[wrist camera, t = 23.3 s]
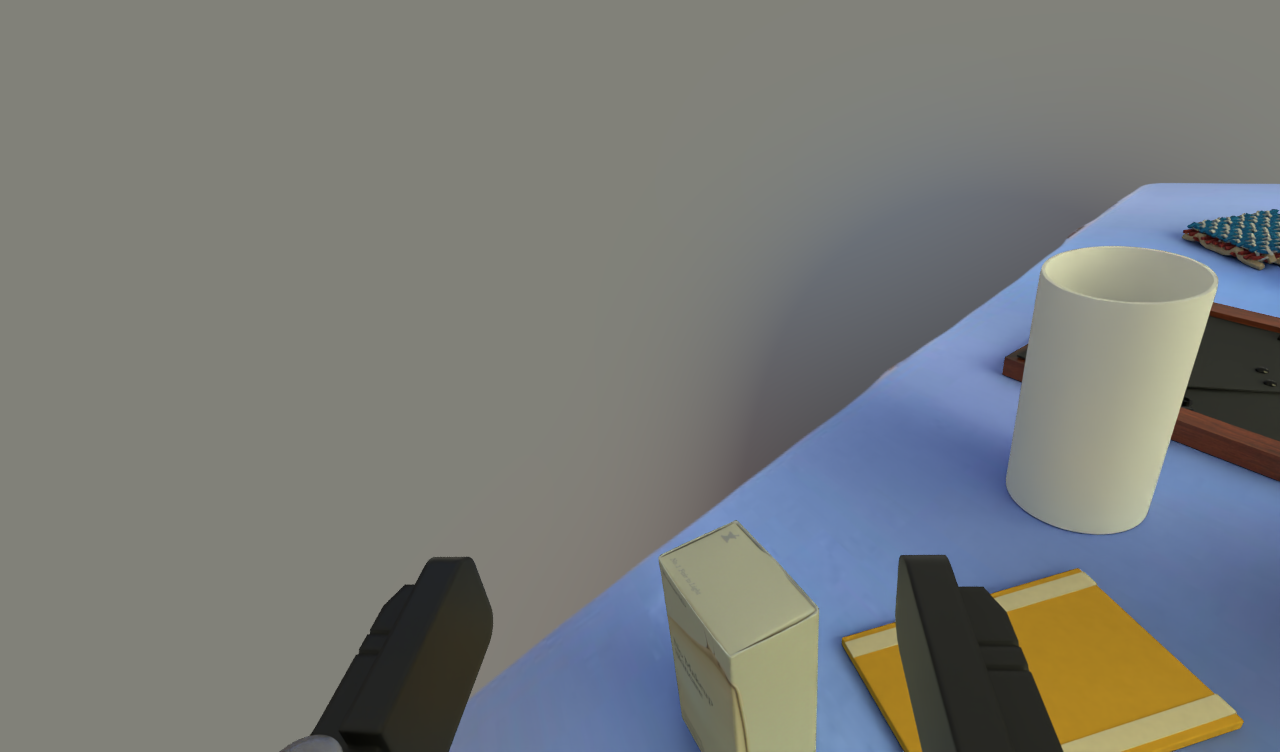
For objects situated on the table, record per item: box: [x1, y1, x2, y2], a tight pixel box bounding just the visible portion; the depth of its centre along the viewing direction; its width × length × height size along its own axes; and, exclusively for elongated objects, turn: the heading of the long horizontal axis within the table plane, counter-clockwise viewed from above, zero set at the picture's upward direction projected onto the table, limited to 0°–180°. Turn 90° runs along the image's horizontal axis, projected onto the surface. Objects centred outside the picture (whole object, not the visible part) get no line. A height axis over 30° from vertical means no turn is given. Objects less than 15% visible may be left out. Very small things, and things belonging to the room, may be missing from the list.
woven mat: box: [1182, 209, 1280, 270], centre depth 72 cm, size 10×11×2 cm
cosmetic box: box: [658, 520, 819, 752], centre depth 31 cm, size 6×4×12 cm
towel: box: [842, 568, 1244, 752], centre depth 35 cm, size 15×10×1 cm, turn 102°
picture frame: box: [1002, 302, 1280, 481], centre depth 53 cm, size 20×2×25 cm
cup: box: [1006, 246, 1218, 534], centre depth 42 cm, size 8×8×16 cm
